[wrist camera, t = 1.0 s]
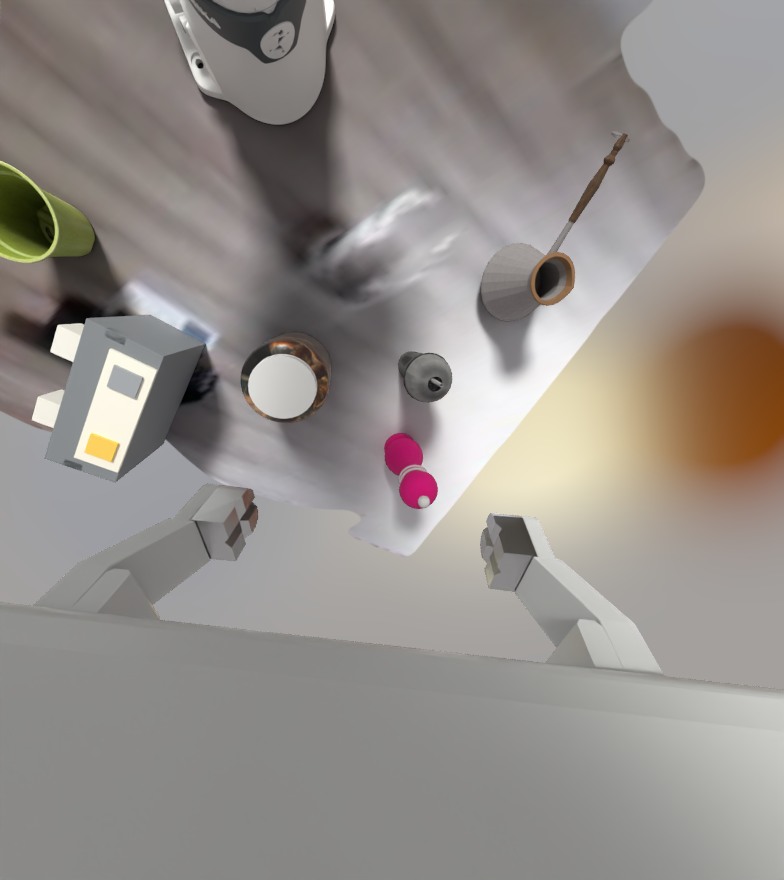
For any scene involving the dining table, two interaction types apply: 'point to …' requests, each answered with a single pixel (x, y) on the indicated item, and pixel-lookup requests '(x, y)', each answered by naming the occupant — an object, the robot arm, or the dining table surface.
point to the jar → (287, 377)
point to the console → (121, 394)
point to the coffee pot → (536, 265)
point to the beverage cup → (425, 376)
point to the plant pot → (38, 221)
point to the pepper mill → (410, 471)
